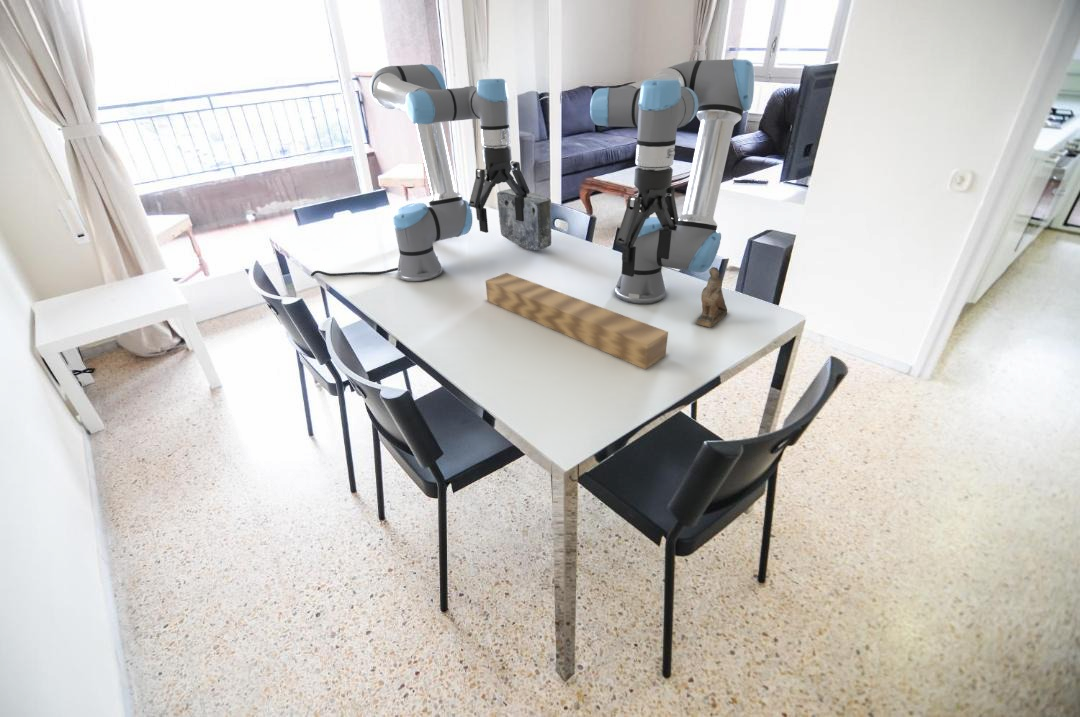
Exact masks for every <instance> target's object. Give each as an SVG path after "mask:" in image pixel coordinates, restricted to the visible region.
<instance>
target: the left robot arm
mask: <svg viewBox="0 0 1080 717" xmlns="http://www.w3.org/2000/svg"><path fill="white" fill-rule="evenodd" d="M507 85H508V84H507V81H506V80H505V79H504V78H481V79H478V80H477V83H476V86H474V85H471V86H470V85H469V86H464V87H456V88H455V87H454V88H447V83H446V80H445V77H444V75H443V73H442V72H441V70H440V69H439V68H438V67H437V66H436V65H433V64H424V63H420V64H405V65H404V64H403V65H389V66H384V67H381V68H380V69H378V70H377V71H376V72H375V73H374V74H373V75H372V76H371V78H370V81H369V92H370V95H371V98H372V99H373V101H374V103H376V104H377V105H378V106H380V107H382V108H385V109H387V110H394V109H397V110H399V111H401V112H403V113H406V114H407V117H408V118H409V119H410V122H412V123H413V124H415V126H416V131H417V135H418V136H417V137H418V142H419V144H420V149H421V150H420V151H421V153H422V158H423V163H424V167H425V171H426V176H427V179H428V184H429V189H430V193H431V194H430V195H431V196H430V198H429V200H428V205H429V206H428V205H427V204H426V203H424V202H423V203H422V202H417V203H410V204H406V205H403V206H401V207H399V208H397V209H396V210H395V211H394V213H393V215H392V219H393V228H394V230H395V231H394V232H395V236H396V241H397V247H398V251H399V259H398V265H397V267H395V268H391V269H387V270H381V271H356V272H355V271H352V272H351V271H350V272H338V273H337V272H336V273H335V272H334V273H331V272H326V271H322V270H314V271H312V272H311V274H310V276H311V277H314V276H315V275H316V274H320V275H323V276H328V277H343V276H344V277H345V276H357V275H358V276H360V275H363V276H364V275H365V276H366V275H368V276H369V275H384V274H389V273H391V272H397V276H398V278H399V279H400V280H402V281H406V282H413V283H414V282H425V281H429V280H432V279H435V278H438V277H439V276H440V275H441V274H442V273H443V268H442V264H441V263H440V260H439V257H438V255H437V254H436V252H435V250H434V243H435V242H438V241H443V240H447V239H453V238H459V237H460V236H465V235H467V234H468V233H469V232H470V231H471V229H472V227H473V212H472V208H473V209H475V215H476V220H477V221H478V225H479V231H480V232H482V233H485V234H486V233H489V224H488V212H487V208H486V207H485V205H486V203H487V202H488V199H489V197H490V195H491V193H492V191H493V188H494V187H496V185H499V184H501V183H506V184H507V185H508V187H509V189H512V190H513V192H514V193H515V194H516V195H517V196H518V197H515V214H516V220H518V221H524V212H523V209H524V207H525V205H524V198H526V197H527V194H529V192H531V191H530V189H529V187H528V184H527V181H526V179H525V177H524V174H523V172H522V171H521V170H522V169H521V164H520V162H519V161H515V160H512V159H513V158H512V146H510V145H511V142H512V141H511V129H510V128H511V127H510V105H509V104H510V103H509V93H508V86H507ZM464 120H465V121H466V120H479V123H480V136H481V137H480V138H481V145H482V146H483V148H482V157H483V158H482V159H483V160H482V161H483V162H484V164H485V166H484V168H476V169H475V178H474V183H473V187H472V191H471V194H470V199H469V202H468V200H465V199H463V194H461V193H460V192H458V191H457V187H456V183H455V182H456V181H455V177H454V172H453V168H452V164H451V158H450V154H449V149H448V143H447V139H446V134H445V130H444V125H443V123H445V122H454V121H455V122H457V121H464Z"/></svg>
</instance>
